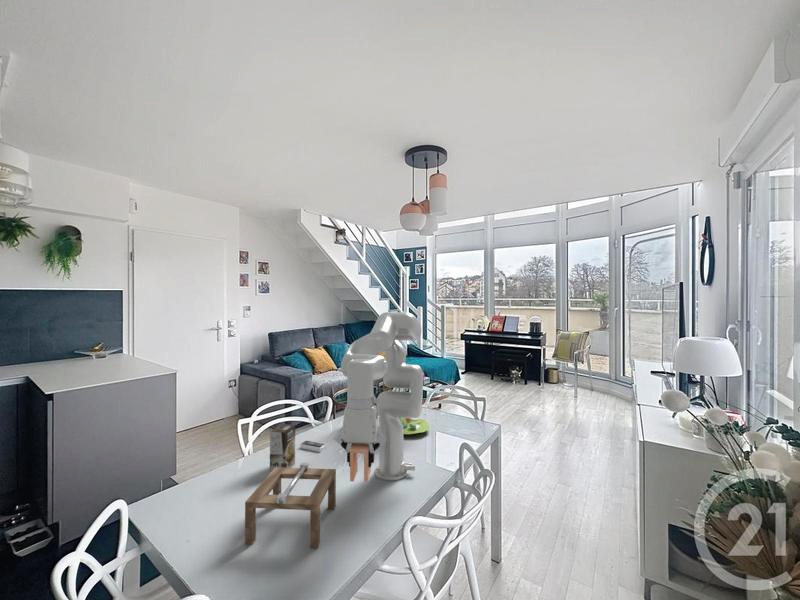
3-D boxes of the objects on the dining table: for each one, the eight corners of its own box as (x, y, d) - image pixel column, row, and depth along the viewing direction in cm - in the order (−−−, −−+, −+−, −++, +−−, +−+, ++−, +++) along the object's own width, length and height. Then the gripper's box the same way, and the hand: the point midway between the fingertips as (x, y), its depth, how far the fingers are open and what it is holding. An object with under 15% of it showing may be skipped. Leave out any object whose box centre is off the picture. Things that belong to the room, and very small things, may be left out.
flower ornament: (362, 433, 180) (358, 365, 180) (392, 415, 205) (389, 354, 204) (414, 443, 165) (410, 369, 164) (439, 422, 189) (436, 357, 188)
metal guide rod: (309, 468, 115) (309, 462, 115) (285, 503, 95) (285, 496, 95) (301, 468, 115) (301, 462, 115) (276, 503, 95) (276, 496, 95)
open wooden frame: (335, 506, 115) (335, 469, 115) (317, 549, 95) (317, 504, 95) (275, 503, 116) (275, 467, 116) (245, 546, 96) (245, 502, 96)
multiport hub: (320, 453, 155) (320, 447, 155) (299, 449, 159) (299, 444, 159) (326, 449, 159) (326, 444, 159) (305, 445, 163) (305, 440, 163)
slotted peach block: (370, 471, 105) (370, 440, 105) (367, 481, 99) (367, 449, 99) (354, 470, 106) (354, 440, 106) (350, 481, 100) (350, 448, 100)
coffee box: (284, 474, 135) (284, 432, 135) (269, 472, 136) (269, 431, 136) (296, 463, 144) (296, 424, 144) (281, 462, 145) (281, 423, 145)
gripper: (391, 399, 105) (391, 459, 106) (334, 397, 106) (334, 457, 107) (388, 407, 98) (388, 472, 98) (328, 405, 99) (328, 470, 99)
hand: (360, 464), depth 103 cm, fingers closed on slotted peach block, 4 cm apart
